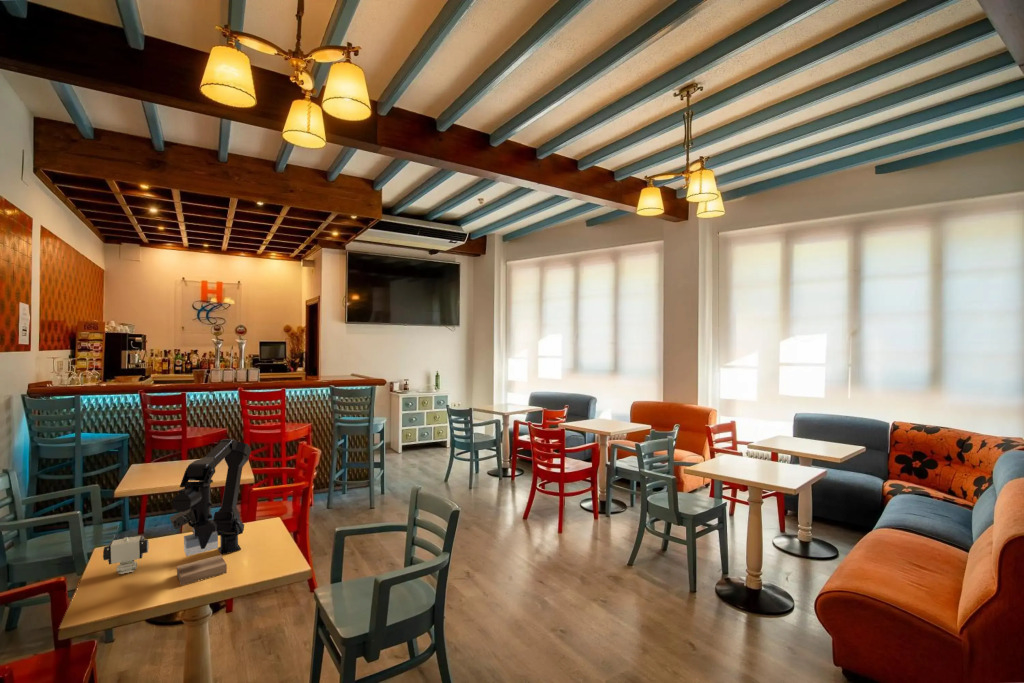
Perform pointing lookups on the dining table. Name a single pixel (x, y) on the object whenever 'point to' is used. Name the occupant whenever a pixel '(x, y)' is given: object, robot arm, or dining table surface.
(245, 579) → the dining table surface
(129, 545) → the pneumatic valve
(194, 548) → the block
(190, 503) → the robot arm
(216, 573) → the walnut stand
